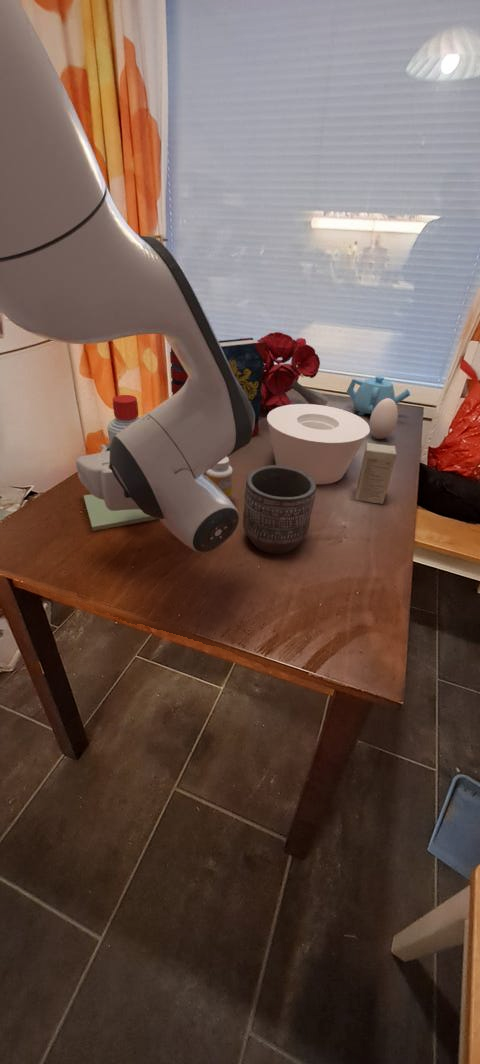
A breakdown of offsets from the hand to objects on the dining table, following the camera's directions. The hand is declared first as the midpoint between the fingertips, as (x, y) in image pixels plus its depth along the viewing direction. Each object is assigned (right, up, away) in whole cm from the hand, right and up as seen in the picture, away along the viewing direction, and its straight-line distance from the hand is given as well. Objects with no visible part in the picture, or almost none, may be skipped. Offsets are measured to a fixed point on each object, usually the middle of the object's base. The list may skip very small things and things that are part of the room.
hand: (127, 443), depth 71 cm
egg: (+60, +12, +52) cm, 81 cm away
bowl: (+37, +1, +34) cm, 50 cm away
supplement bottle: (+14, -9, +18) cm, 25 cm away
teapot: (+64, +25, +70) cm, 98 cm away
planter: (+25, -17, +9) cm, 32 cm away
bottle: (0, -7, +4) cm, 9 cm away
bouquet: (+33, +25, +67) cm, 79 cm away
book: (+12, +10, +44) cm, 47 cm away
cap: (+1, +6, -5) cm, 8 cm away
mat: (-4, -10, +15) cm, 18 cm away
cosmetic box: (+48, -7, +24) cm, 54 cm away
